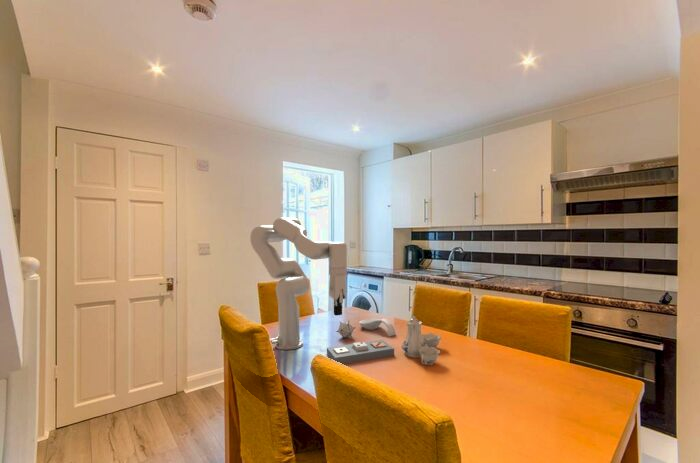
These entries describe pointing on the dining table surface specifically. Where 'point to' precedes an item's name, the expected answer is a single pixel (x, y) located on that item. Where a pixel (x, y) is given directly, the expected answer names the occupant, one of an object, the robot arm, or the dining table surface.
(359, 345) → the button two
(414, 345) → the chinaware
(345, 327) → the spiky ball
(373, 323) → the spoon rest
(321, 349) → the dining table surface
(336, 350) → the button one
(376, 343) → the button three
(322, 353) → the dining table surface
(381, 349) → the button panel
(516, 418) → the dining table surface
